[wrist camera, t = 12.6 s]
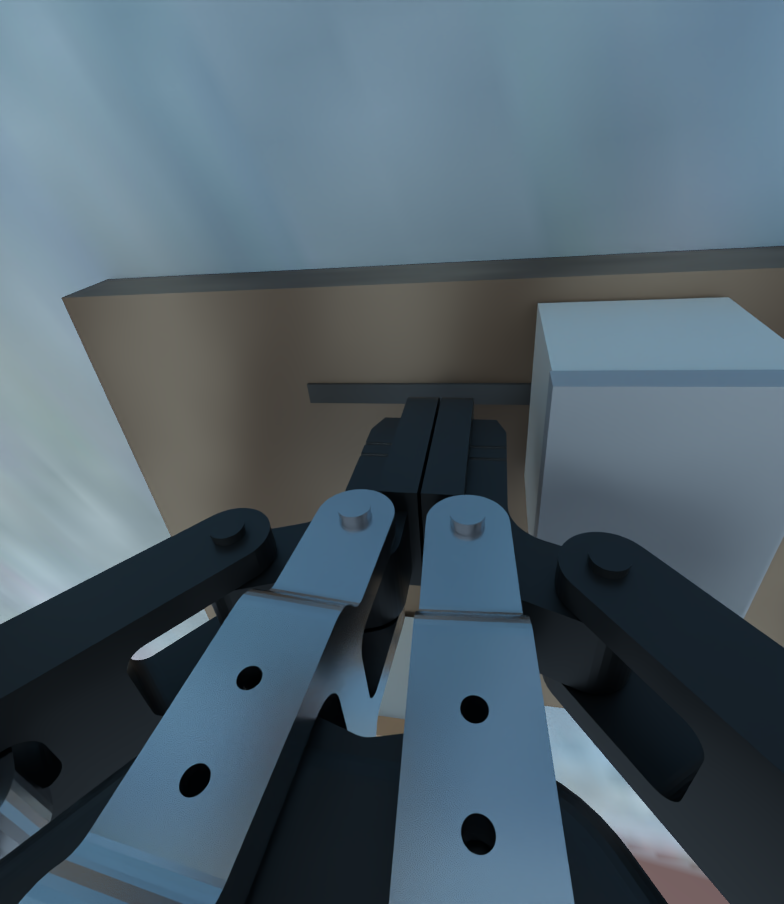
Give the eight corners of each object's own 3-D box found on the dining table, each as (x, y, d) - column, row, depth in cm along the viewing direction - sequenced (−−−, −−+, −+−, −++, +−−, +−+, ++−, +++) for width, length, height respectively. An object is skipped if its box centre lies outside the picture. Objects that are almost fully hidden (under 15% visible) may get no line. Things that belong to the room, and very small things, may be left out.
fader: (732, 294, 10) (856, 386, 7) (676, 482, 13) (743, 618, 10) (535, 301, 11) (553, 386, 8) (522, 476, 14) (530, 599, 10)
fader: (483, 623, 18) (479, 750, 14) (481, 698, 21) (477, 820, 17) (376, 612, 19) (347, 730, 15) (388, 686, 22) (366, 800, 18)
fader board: (1035, 233, 11) (1136, 254, 9) (764, 688, 21) (787, 739, 19) (106, 279, 16) (58, 298, 14) (247, 630, 25) (229, 667, 24)
